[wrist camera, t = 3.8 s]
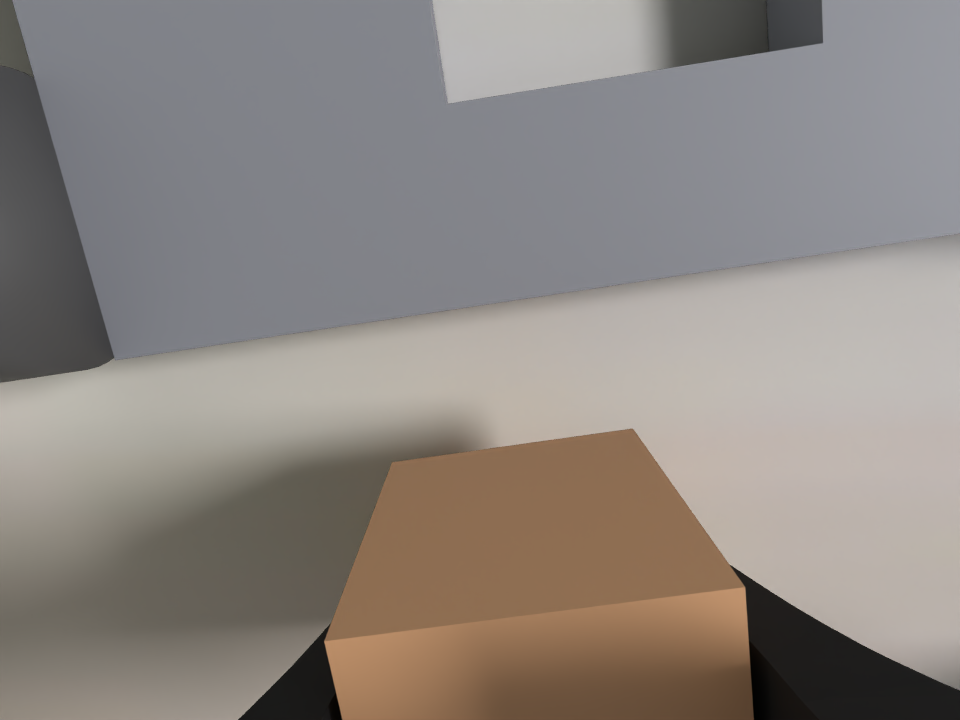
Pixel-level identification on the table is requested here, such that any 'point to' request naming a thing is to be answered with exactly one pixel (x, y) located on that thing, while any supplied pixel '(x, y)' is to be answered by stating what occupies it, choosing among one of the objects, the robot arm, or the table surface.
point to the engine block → (539, 593)
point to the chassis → (430, 167)
